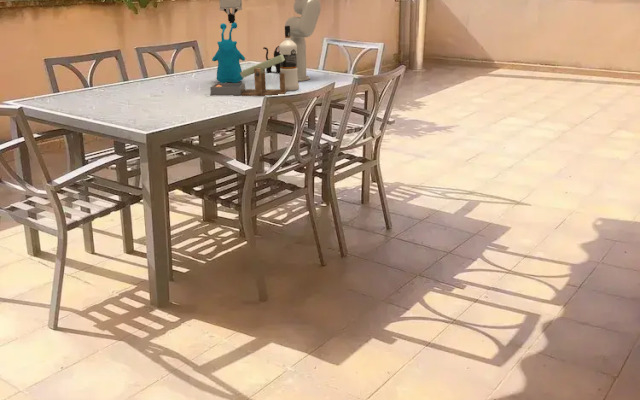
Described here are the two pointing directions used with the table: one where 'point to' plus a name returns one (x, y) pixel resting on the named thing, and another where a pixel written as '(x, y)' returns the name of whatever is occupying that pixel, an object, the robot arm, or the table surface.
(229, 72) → the toy
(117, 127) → the table surface
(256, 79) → the stand
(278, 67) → the toy
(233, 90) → the dish
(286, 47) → the vodka
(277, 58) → the lever
